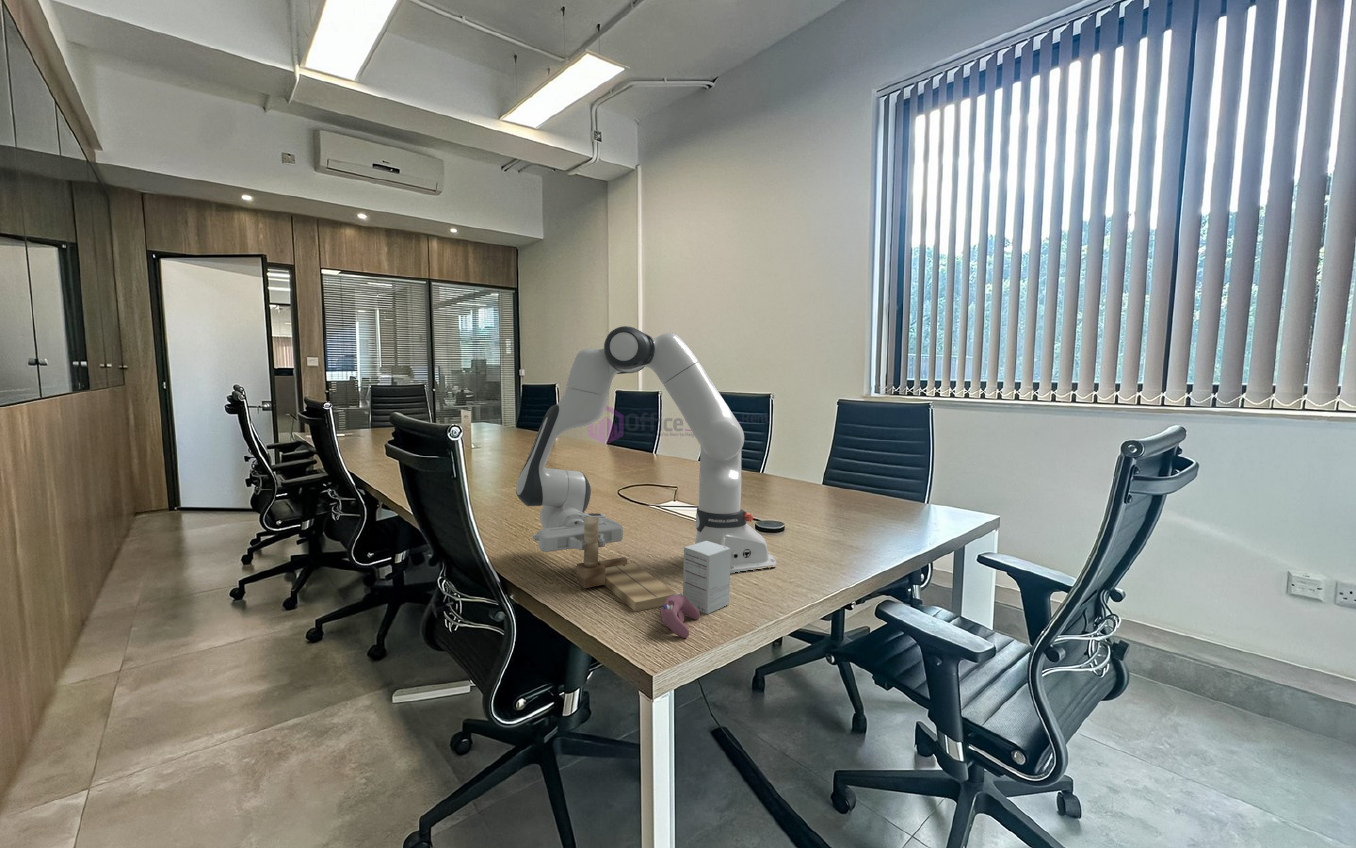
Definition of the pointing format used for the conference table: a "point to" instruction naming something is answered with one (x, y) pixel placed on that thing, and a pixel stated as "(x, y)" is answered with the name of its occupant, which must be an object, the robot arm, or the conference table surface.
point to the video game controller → (678, 614)
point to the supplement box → (707, 575)
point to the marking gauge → (594, 557)
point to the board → (636, 587)
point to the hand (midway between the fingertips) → (592, 545)
